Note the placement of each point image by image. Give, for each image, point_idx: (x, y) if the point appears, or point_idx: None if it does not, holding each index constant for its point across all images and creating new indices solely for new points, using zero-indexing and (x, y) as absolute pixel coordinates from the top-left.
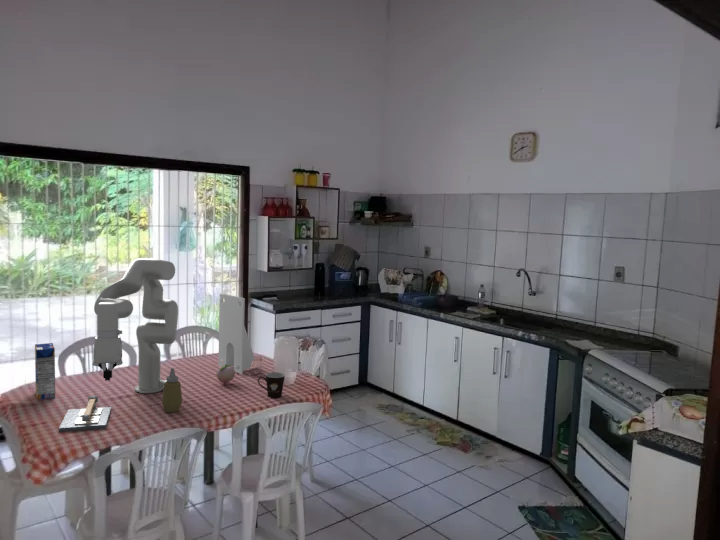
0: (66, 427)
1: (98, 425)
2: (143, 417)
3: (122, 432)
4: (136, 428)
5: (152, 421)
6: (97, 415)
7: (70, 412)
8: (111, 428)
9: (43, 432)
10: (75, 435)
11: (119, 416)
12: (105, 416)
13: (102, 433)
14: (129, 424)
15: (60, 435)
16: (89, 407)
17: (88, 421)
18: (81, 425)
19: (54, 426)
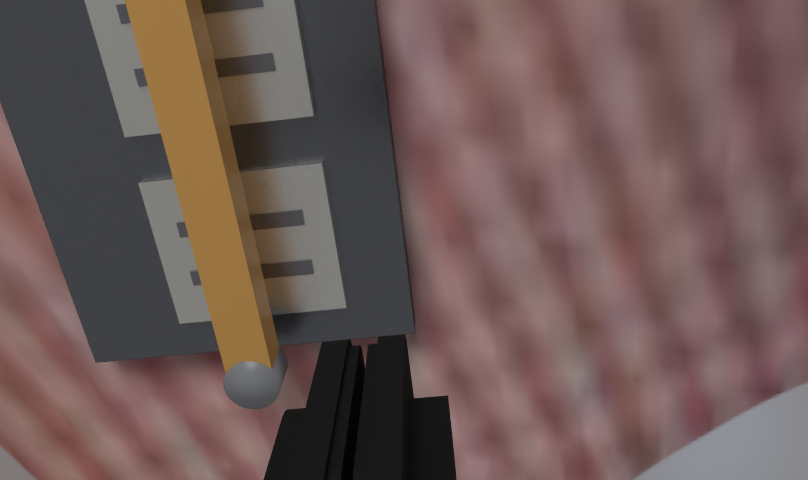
0: (144, 357)
1: (363, 337)
2: (688, 109)
3: (541, 390)
4: (633, 334)
5: (758, 211)
6: (290, 123)
7: (2, 13)
8: (454, 318)
9: (7, 341)
10: None
11: (473, 62)
12: (368, 154)
13: None
14: (577, 256)
15: (148, 397)
16: (202, 177)
17: (268, 289)
18: None
19: (20, 242)
